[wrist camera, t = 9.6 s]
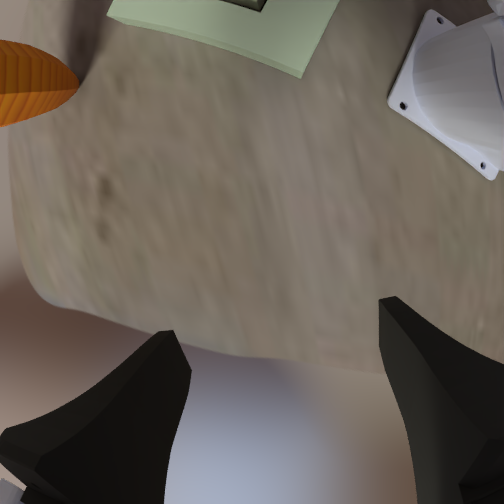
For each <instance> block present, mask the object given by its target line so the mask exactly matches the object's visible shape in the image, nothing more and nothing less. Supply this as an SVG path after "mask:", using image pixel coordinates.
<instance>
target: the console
mask: <svg viewBox="0 0 504 504" xmlns="http://www.w3.org/2000/svg"><path fill="white" fill-rule="evenodd" d="M339 1H340V0H267V2H266V4H265V6H264V8H263V10H262V11H261V13H260V12H257V11H254V10H251V9H248V8H244V7H241V6H238V5H234V4H231V3H227V2H224V1H220V0H113V2H112V4H111V6H110V8H109V10H108V13H107V16H109V17H111V18H113V19H115V20H117V21H120V22H122V23H124V24H127V25H133V26H138V27H143V28H148V29H152V30H157V31H161V32H165V33H169V34H173V35H177V36H181V37H185V38H189V39H192V40H196V41H199V42H203V43H206V44H209V45H212V46H216V47H219V48H222V49H225V50H228V51H231V52H234V53H237V54H239V55H242V56H245V57H248V58H250V59H253V60H256V61H258V62H261V63H264V64H266V65H269V66H271V67H274V68H276V69H279V70H281V71H283V72H286V73H288V74H290V75H293V76H295V77H297V78H299V79H301V77H302V75H303V73H304V71H305V69H306V67H307V65H308V63H309V61H310V59H311V57H312V55H313V53H314V51H315V49H316V47H317V45H318V43H319V41H320V38H321V36H322V34H323V32H324V30H325V29H326V27H327V25H328V23H329V21H330V19H331V17H332V15H333V13H334V11H335V9H336V7H337V5H338V3H339Z"/></svg>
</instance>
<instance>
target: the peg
mask: <svg viewBox="0 0 504 504" xmlns="http://www.w3.org/2000/svg"><path fill="white" fill-rule="evenodd" d="M225 1H229V2H232V3H236V4H239V5H243V6H246V7H249V8H252V9H255V10H258V11H260V9H261V7H262V5H263V3H264V1H265V0H225Z"/></svg>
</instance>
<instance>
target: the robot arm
mask: <svg viewBox="0 0 504 504" xmlns="http://www.w3.org/2000/svg"><path fill="white" fill-rule="evenodd" d="M487 2H488V4H489V6H490V7H491V8H492V10H493V11H494V12H493V13H490V14H488V15H485V16H482V17H480V18H477V19H475V20H472V21H470V22H467V23H465V24H462V25H460V26H458V27H457V26H455V25H454V24H453V23H452V22H450V21H449V20H447V19H446V18H445V17H443V16H442V15H440V14H439V13H438V12H436V11H434V10H431V9H430V10H428V11H426V13H425V15H424V17H423V19H422V22H421V24H420V27H419V29H418V31H417V34H416V36H415V38H414V41H413V43H412V45H411V47H410V50H409V52H408V54H407V57H406V59H405V61H404V63H403V65H402V68H401V70H400V72H399V74H398V77H397V79H396V81H395V83H394V85H393V87H392V90H391V92H390V94H389V96H388V99H387V103H388V105H389V107H390V108H391V109H393V110H395V111H396V112H398V113H399V114H401V115H403V116H404V117H406V118H407V119H409V120H410V121H412V122H413V123H415V124H416V125H418V126H419V127H421V128H422V129H424V130H425V131H427V132H428V133H429V134H431V135H432V136H434V137H435V138H436V139H438V140H439V141H440V142H442V143H443V144H445V145H446V146H447V147H449V148H450V149H451V150H452V151H454V152H455V153H456V154H458V155H459V156H460V157H461V158H463V159H464V160H465V161H466V162H468V163H469V164H470V165H471V166H473V167H474V168H475V169H476V170H477V171H478V172H480V173H481V174H482V175H483V176H484V177H485V178H487V179H489V180H494V179H495V178H496V176H497V173H498V171H499V170H501V171H503V172H504V0H487ZM437 19H439V20H440V21H441V24H440V23H438V21H437ZM401 102H403V103H404V104H405V109H404V110H402V109H401V108H400V103H401ZM482 162H483V167H482V168H481V166H480V165H481V163H482ZM379 348H380V352H381V356H382V360H383V364H384V368H385V371H386V374H387V377H388V379H389V382H390V385H391V387H392V390H393V392H394V395H395V398H396V401H397V403H398V406H399V409H400V411H401V415H402V417H403V420H404V423H405V427H406V431H407V435H408V440H409V445H410V450H411V456H412V461H413V468H414V475H415V482H416V491H417V502H418V504H504V364H502V363H499V362H497V361H495V360H492V359H490V358H488V357H486V356H483V355H481V354H479V353H478V352H476V351H474V350H472V349H470V348H468V347H466V346H465V345H463V344H461V343H459V342H458V341H456V340H455V339H453V338H452V337H450V336H448V335H447V334H445V333H444V332H442V331H441V330H440V329H438V328H437V327H435V326H434V325H432V324H431V323H430V322H428V321H427V320H426V319H424V318H423V317H422V316H421V315H419V314H418V313H417V312H415V311H414V310H413V309H412V308H410V307H409V306H408V305H407V304H405V303H404V302H403V301H402V300H400V299H399V298H398V297H396V296H393V297H388V298H383V299H379ZM191 372H192V370H191V368H190V366H189V364H188V361H187V360H186V357H185V355H184V353H183V351H182V349H181V346H180V344H179V342H178V340H177V337H176V335H175V333H174V331H173V330H168V331H159V332H157V333H156V334H155V335H153V336H152V337H151V338H150V339H148V341H146V342H145V343H144V344H143V345H142V346H140V347H139V349H137V350H136V351H135V352H134V353H133V354H132V355H130V356H129V357H128V358H127V359H126V360H125V361H124V362H123V363H121V364H120V365H119V366H118V367H117V368H116V369H114V370H113V371H112V372H111V373H110V374H108V375H107V376H106V377H105V378H104V379H102V380H101V381H100V382H98V383H97V384H96V385H94V386H93V387H92V388H90V389H89V390H87V391H86V392H84V393H83V394H81V395H80V396H78V397H77V398H75V399H74V400H72V401H70V402H69V403H66V404H65V405H63V406H61V407H60V408H58V409H56V410H54V411H52V412H50V413H48V414H45V415H43V416H41V417H38V418H36V419H33V420H31V421H28V422H25V423H22V424H19V425H16V426H12V427H9V428H6V429H5V430H4V431H3V433H2V434H1V436H0V463H1V464H2V465H3V466H4V467H5V468H6V469H7V470H9V471H10V472H11V473H12V474H13V475H14V476H15V477H16V478H18V479H19V480H20V481H21V482H22V483H24V484H25V485H26V486H27V487H26V489H25V491H23V490H22V489H20V488H19V487H17V486H16V485H14V484H12V483H10V482H8V481H7V480H5V479H1V480H0V504H164V495H165V486H166V478H167V470H168V464H169V459H170V452H171V448H172V445H173V441H174V438H175V435H176V431H177V428H178V425H179V422H180V418H181V415H182V413H183V409H184V406H185V403H186V400H187V396H188V392H189V386H190V379H191Z"/></svg>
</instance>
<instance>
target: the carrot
mask: <svg viewBox="0 0 504 504" xmlns="http://www.w3.org/2000/svg"><path fill="white" fill-rule="evenodd" d="M78 88H79V80H78V78H77V77H76V75H75V74H74V73H73V72H72V71H71V70H70V69H69V68H68V67H67V66H66V65H64V64H63V63H62V62H61V61H60V60H59V59H58V58H56V57H54V56H52V55H50V54H48V53H46V52H44V51H42V50H40V49H37V48H35V47H32V46H30V45H26V44H22V43H17V42H11V41H6V40H0V127H4V126H7V125H10V124H14V123H17V122H20V121H23V120H27V119H29V118H32V117H35V116H38V115H40V114H43V113H46V112H48V111H51V110H53V109H56V108H57V107H59V106H60V105H62V104H63V103H65V102H66V101H67V100H69V99H70V98H71V97H72V96H73V95H74V94H75V93H76V91H77V90H78Z"/></svg>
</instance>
